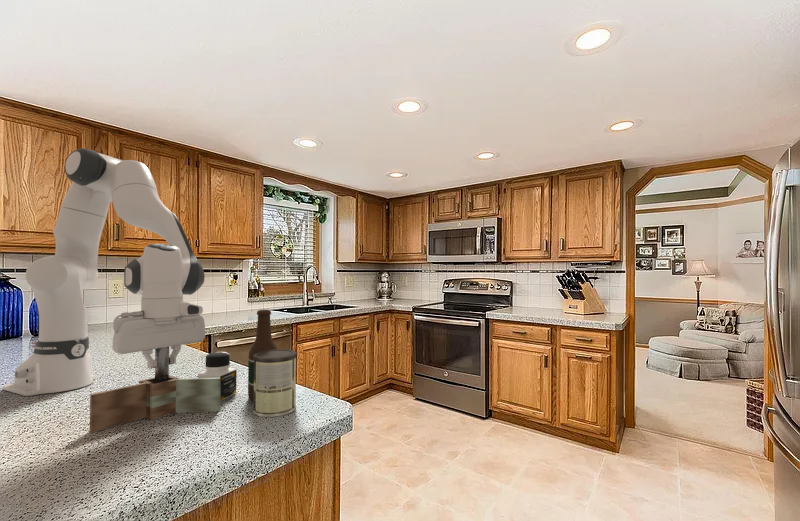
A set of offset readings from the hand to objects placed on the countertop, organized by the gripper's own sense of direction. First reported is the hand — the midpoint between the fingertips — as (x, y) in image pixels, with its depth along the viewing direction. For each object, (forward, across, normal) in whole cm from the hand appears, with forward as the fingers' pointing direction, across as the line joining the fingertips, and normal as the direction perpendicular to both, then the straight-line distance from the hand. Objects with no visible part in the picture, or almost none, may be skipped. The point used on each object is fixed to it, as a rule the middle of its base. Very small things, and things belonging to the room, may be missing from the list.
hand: (161, 365), depth 96 cm
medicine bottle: (+12, +14, 0) cm, 19 cm away
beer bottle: (+12, +21, -12) cm, 27 cm away
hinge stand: (+11, -3, -4) cm, 12 cm away
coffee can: (+12, +16, -22) cm, 30 cm away
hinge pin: (+5, 0, 0) cm, 5 cm away
